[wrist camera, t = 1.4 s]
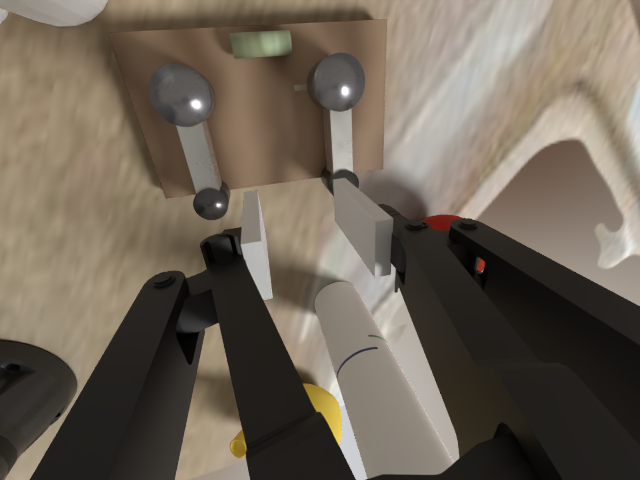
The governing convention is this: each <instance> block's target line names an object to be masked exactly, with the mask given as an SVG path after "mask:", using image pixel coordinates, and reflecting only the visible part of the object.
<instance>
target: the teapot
mask: <svg viewBox="0 0 640 480" xmlns="http://www.w3.org/2000/svg"><path fill="white" fill-rule="evenodd" d="M303 385H304V388H305V390H306V392H307V394H308V396H309V398H310V400H311V402H312V404H313V406H314V408H315V410H316V411H317V412H321V413H322V415H323V416H324V417H325V419H326V421H327V423H328V425H329V427H330V428H331V430H332V432H333V435H334V437H335V439H336V441H337V443H338V445H340V439H341V430H342V421H341V412H340V407H339V404H338V402H337V400H336V399H335V397H334V396H333V395H332V394H330V393H329V392H328V391H326V390H324V389H322V388H320V387H318V386H316V385H312V384H303ZM230 450H231V452H232V454H233V455H234V456H236V457H238V458H242V457H244V456H245V455H246V453H245V452H246V444H245V439H244V434H243V430H241V431H240V432H239V433H238V435H237V436H236V437H235V438H234V439H233V440H232V441H231V443H230Z"/></svg>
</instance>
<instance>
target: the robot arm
mask: <svg viewBox="0 0 640 480" xmlns="http://www.w3.org/2000/svg"><path fill="white" fill-rule="evenodd" d="M333 189H334V207H335V221H336V223H337V224H338V225H339V227H340V228H341V230H342V231H343V233H344V234H345V236H346V237H347V238H348V240H349V241H350V243H351V244H352V246H353V247H354V249H355V250H356V251H357V253H358V254H359V256H360V257H361V259H362V260H363V262H364V263H365V264H366V266H367V267H368V269H369V270H370V272H371V273H372V275H373V276H374V277H380V276H385V275H390V274H391V263H392V264H393V266H394V267H395V268H396V276H395V292H397V291H398V288H400V291H401V293H402V296H403V299H404V301H405V304H406V306H407V309H408V311H409V314H410V317H411V319H412V322H413V324H414V327H415V329H416V332H417V335H418V337H419V339H420V342H421V345H422V347H423V350H424V353H425V355H426V358H427V360H428V363H429V365H430V368H431V370H432V373H433V376H434V378H435V381H436V383H437V386H438V388H439V391H440V394H441V396H442V399H443V401H444V404H445V406H446V409H447V411H448V414H449V417H450V419H451V422H452V424H453V427H454V430H455V433H456V435H457V440H458V447H459V457H460V458H459V459H458V460H457V461H456V462H455V463H453V464H452V465H451V466H450V467H449V468H447V469H446V470H445V471H444V472H442V473H440V474H437V475H407V474H382V475H379V476H376V477H372V478H369V479H366V480H640V306H638V305H636V304H634V303H632V302H631V301H629V300H627V299H625V298H623V297H621V296H619V295H617V294H615V293H614V292H612V291H610V290H608V289H606V288H604V287H602V286H600V285H598V284H597V283H595V282H593V281H591V280H589V279H587V278H585V277H583V276H582V275H580V274H578V273H576V272H574V271H572V270H570V269H568V268H566V267H565V266H563V265H561V264H559V263H557V262H555V261H553V260H551V259H549V258H548V257H546V256H544V255H542V254H540V253H538V252H536V251H534V250H532V249H531V248H528V247H527V246H525V245H523V244H521V243H519V242H517V241H515V240H514V239H512V238H510V237H508V236H506V235H504V234H502V233H500V232H499V231H497V230H495V229H493V228H491V227H489V226H487V225H485V224H483V223H481V222H479V221H476V220H472V219H469V218H467V219H466V218H462V219H457V220H453V221H452V222H451V223H450V229H449V230H438V231H436V230H434V229H433V228H432V227H431V225H429V224H428V223H426V222H423V221H418V220H407V219H406V218H405V217H404V216H402V215H401V214H400V213H398V212H397V211H396V210H395V209H393V208H392V207H390V206H387V205H385V204H379V205H377V204H375V203H374V202H373V201H372V200H371V199H370V198H368V197H367V196H366V195H365V194H364V193H362V192H361V191H360V190H359V189H358V188H356V187H355V186H354V185H353V184H352V183H351V182H349V181H348V180H347V179H346V178H340V179H333ZM200 247H201V251H202V254H203V257H204V260H205V263H206V267H207V270H205V271H203V272H202V273H199V274H197V275H194V276H192V277H189V278H186V277H185V275H184V273H182V272H181V271H168V272H162V273H159V274H157V275H155V276H154V277H152V278H151V279H149V280H148V281H147V282H146V283H145V284H144V285H143V287H142V289H141V290H140V292H139V294H138V296H137V297H136V299H135V301H134V302H133V304H132V306H131V308H130V309H129V311H128V313H127V314H126V316H125V318H124V320H123V321H122V323H121V325H120V326H119V328H118V330H117V331H116V333H115V335H114V337H113V338H112V340H111V342H110V343H109V345H108V347H107V349H106V350H105V352H104V354H103V355H102V357H101V359H100V361H99V362H98V364H97V366H96V367H95V369H94V371H93V373H92V374H91V376H90V378H89V379H88V381H87V383H86V384H85V386H84V388H83V390H82V391H81V393H80V395H79V396H78V398H77V400H76V402H75V403H74V405H73V407H72V408H71V410H70V412H69V414H68V415H67V417H66V419H65V420H64V422H63V424H62V426H61V427H60V429H59V431H58V432H57V434H56V436H55V438H54V439H53V441H52V443H51V444H50V446H49V448H48V449H47V451H46V453H45V455H44V456H43V458H42V460H41V461H40V463H39V465H38V467H37V468H36V470H35V472H34V473H33V475H32V477H31V479H30V480H175V475H176V470H177V465H178V461H179V456H180V451H181V446H182V441H183V436H184V431H185V427H186V422H187V417H188V412H189V407H190V402H191V398H192V393H193V388H194V383H195V378H196V373H197V368H198V364H199V359H200V354H201V349H202V344H203V339H204V334H205V328H207V327H210V326H212V325H214V324H217V323H219V325H220V330H221V334H222V339H223V343H224V348H225V353H226V357H227V362H228V366H229V371H230V375H231V380H232V384H233V389H234V393H235V398H236V402H237V407H238V411H239V416H240V420H241V425H242V430H243V434H244V439H245V444H246V452H245V453H246V460H247V466H248V471H249V476H250V480H356V479H355V477H354V475H353V473H352V471H351V469H350V467H349V465H348V463H347V461H346V459H345V457H344V455H343V453H342V451H341V449H340V447H339V445H338V443H337V441H336V439H335V437H334V435H333V432H332V430H331V428H330V427H329V425H328V423H327V421H326V419H325V417H324V416H323V415H322V413H321V412H317V411H316V410H315V408H314V406H313V404H312V402H311V400H310V398H309V396H308V394H307V392H306V390H305V388H304V385H303V383H302V381H301V379H300V377H299V375H298V373H297V371H296V369H295V366H294V364H293V362H292V360H291V358H290V356H289V354H288V352H287V350H286V347H285V345H284V343H283V341H282V339H281V337H280V335H279V333H278V330H277V328H276V326H275V324H274V322H273V320H272V318H271V316H270V314H269V311H268V309H267V307H266V305H265V303H264V301H263V300H267V299H272V298H273V295H272V287H271V278H270V269H269V260H268V252H267V243H266V234H265V228H264V223H263V217H262V212H261V207H260V202H259V196H258V191H257V190H255V191H247V192H244V200H243V215H242V227H240V228H233V229H227V230H224V231H223V232H222V233H220V234H215V235H212V236H210V237H208V238H206V239H204V240H203V241H202V242H201V244H200ZM479 258H480V259H482V260H483V261H484V262H485V266H484V270H483V272H480V271H479V270H477V267H478V263H479ZM76 391H77V380H76V377H75V374H74V373H73V371H72V370H71V368H70V367H69V366H68V365H67V364H66V363H65V362H63V361H62V360H61V359H59V358H58V357H56V356H54V355H53V354H51V353H49V352H47V351H44V350H42V349H39V348H36V347H33V346H30V345H25V344H21V343H15V342H7V341H0V480H4V479H5V478H6V476H7V475H8V473H9V471H10V470H11V468H12V467H13V465H14V464H15V462H16V461H17V459H18V458H19V456H20V455H21V454H22V453H23V452H24V451H25V450H27V449H28V448H29V447H30V446H31V445H32V444H33V443H34V442H35V441H36V440H37V439H38V438H39V437H40V436H41V435H42V434H43V433H44V432H45V431H46V430H47V429H48V428H49V426H50V425H52V424H53V423H54V422H55V421H57V420H58V419H59V418H60V417H61V416H62V414H63V413H64V412H65V411H66V409H67V408H68V406H69V404H70V402H71V401H72V399H73V397H74V396H75V394H76Z"/></svg>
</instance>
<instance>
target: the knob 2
mask: <svg viewBox="0 0 640 480" xmlns="http://www.w3.org/2000/svg"><path fill="white" fill-rule="evenodd" d="M364 88H365V74H364V71H363V68H362V66H361V64H360V63H359V61H358V60H357V59H356V58H355V57H353V56H352V55H350V54H347V53H335V54H332V55H330V56H328V57H326V58H324V59H322V60H321V61H319V62H317V63H316V64H315V65H314V66H313V67H312V69H311V70H310V73H309V75H308V79H307V89H308V94H309V96H310V98H311V100H312V101H313V103H314V104H315V105H317V106H318V107H320V108H322V110H323V125H324V140H325V155H326V167H325V168H324V169H323V171H322V174H321V180H322V182H323V184H324V185H325V187H326V188H327V189H328V190H329V191H330V192H331V194H332V195H333V196H334V189H333V179H340V178H346V179H347V180H348V181H349V182H351V183H352V184H353V185H354V186H355V187H356V188H358V187H359V181H358V178H357V176H356V175H355V174H354V173H353V155H352V110H351V108H352V107H354V106H355V105H356V104H357V103H358V102H359V100H360V99H361V97H362V95H363V92H364Z"/></svg>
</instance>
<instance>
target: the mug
mask: <svg viewBox="0 0 640 480" xmlns="http://www.w3.org/2000/svg"><path fill="white" fill-rule="evenodd" d="M107 1H108V0H0V23H1V22H2V21H4V20H5V19H6V17H7V15H8V13H9V12H12V13H15V14H18V15H20V16H23V17H26V18H29V19H32V20H34V21H37V22H41V23H45V24H50V25H54V26H58V27H62V26H78V25H81V24H83V23H86V22H89V21H91V20H92V19H94V18H95V17H96V16H97V15H98V14H99V13H100V12H101V11H103V9H104V7H105V5H106V3H107Z"/></svg>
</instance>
